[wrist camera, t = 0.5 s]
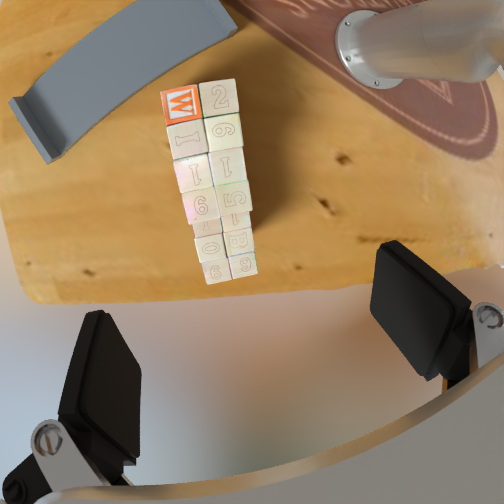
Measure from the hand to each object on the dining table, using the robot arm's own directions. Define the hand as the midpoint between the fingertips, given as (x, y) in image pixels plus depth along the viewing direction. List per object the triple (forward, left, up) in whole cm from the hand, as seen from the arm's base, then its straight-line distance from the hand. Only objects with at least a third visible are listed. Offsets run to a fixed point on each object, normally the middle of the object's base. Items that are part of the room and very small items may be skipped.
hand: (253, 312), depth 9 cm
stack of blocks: (+1, +2, -30) cm, 30 cm away
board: (+3, -18, -29) cm, 34 cm away
